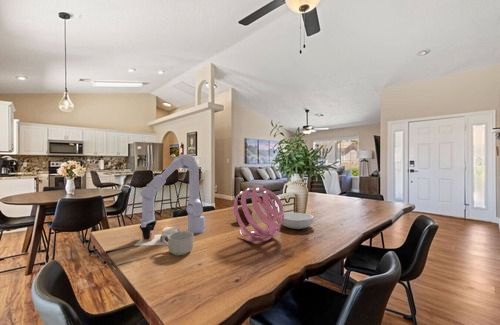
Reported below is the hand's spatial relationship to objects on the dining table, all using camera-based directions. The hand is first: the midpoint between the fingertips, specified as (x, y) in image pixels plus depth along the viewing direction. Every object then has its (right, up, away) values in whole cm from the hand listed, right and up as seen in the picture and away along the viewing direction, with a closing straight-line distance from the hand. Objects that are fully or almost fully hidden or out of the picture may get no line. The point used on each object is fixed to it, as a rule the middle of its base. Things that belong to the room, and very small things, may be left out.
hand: (148, 237), depth 120 cm
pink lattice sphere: (+56, -2, +2) cm, 56 cm away
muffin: (+47, -1, +35) cm, 59 cm away
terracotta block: (0, -1, 0) cm, 1 cm away
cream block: (+11, +1, +1) cm, 11 cm away
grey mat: (+6, -1, +1) cm, 6 cm away
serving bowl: (+79, -2, +25) cm, 83 cm away
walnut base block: (+11, -1, +1) cm, 11 cm away
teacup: (+19, -2, -15) cm, 25 cm away
